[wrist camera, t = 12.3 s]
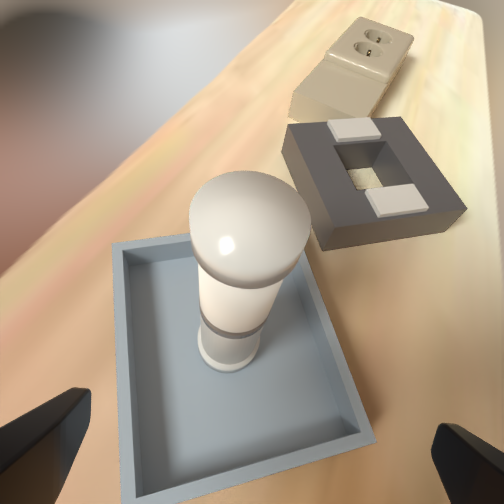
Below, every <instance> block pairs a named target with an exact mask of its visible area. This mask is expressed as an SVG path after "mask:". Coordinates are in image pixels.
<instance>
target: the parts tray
mask: <svg viewBox="0 0 504 504" xmlns="http://www.w3.org/2000/svg"><path fill="white" fill-rule="evenodd" d="M112 263H113V291H114V318H115V346H116V373H117V401H118V428H119V456H120V483H121V504H177V503H180V502H183V501H186V500H190V499H193V498H196V497H199V496H203V495H206V494H209V493H213V492H216V491H219V490H222V489H226V488H229V487H232V486H236V485H239V484H242V483H245V482H249V481H252V480H255V479H258V478H262V477H265V476H268V475H272V474H275V473H278V472H281V471H285V470H288V469H291V468H294V467H298V466H301V465H304V464H308V463H311V462H314V461H317V460H321V459H324V458H327V457H331V456H334V455H337V454H340V453H344V452H347V451H350V450H353V449H357V448H360V447H363V446H367V445H370V444H373V443H376V442H377V441H376V438H375V436H374V433H373V430H372V428H371V425H370V422H369V420H368V417H367V415H366V412H365V409H364V407H363V404H362V401H361V399H360V396H359V394H358V391H357V388H356V386H355V383H354V380H353V378H352V375H351V372H350V370H349V367H348V365H347V362H346V359H345V357H344V354H343V351H342V349H341V346H340V343H339V341H338V338H337V336H336V333H335V330H334V328H333V325H332V322H331V320H330V317H329V315H328V312H327V309H326V307H325V304H324V301H323V299H322V296H321V293H320V291H319V288H318V286H317V283H316V280H315V278H314V275H313V272H312V270H311V267H310V265H309V262H308V259H307V257H306V254H305V251H304V249H303V251H302V254H301V256H300V258H299V260H298V262H297V264H296V266H295V268H294V269H293V270H292V271H291V273H290V274H289V275H288V276H286V277H285V278H284V279H283V282H282V284H281V286H280V289H279V291H278V293H277V296H276V298H275V301H274V303H273V305H272V308H271V311H270V314H269V316H268V318H267V321H266V322H265V324H264V327H263V329H262V331H261V334H260V344H259V347H258V350H257V352H256V354H255V356H254V358H253V360H252V361H251V363H250V364H249V365H248V366H247V367H245V368H244V369H242V370H241V371H238V372H235V373H220V372H217V371H215V370H213V369H211V368H210V367H209V366H207V365H206V364H205V362H204V361H203V360H202V358H201V356H200V353H199V349H198V330H199V327H200V325H201V322H200V308H199V273H198V262H197V260H196V259H195V257H194V254H193V251H192V247H191V238H190V233H187V234H179V235H172V236H164V237H157V238H149V239H142V240H134V241H126V242H119V243H112Z"/></svg>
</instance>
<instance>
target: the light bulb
mask: <svg viewBox="0 0 504 504" xmlns="http://www.w3.org/2000/svg"><path fill="white" fill-rule="evenodd" d="M189 224H190V238H191V247H192V251H193V254H194V257H195V259H196V260H197V262H198V273H199V308H200V322H201V325H200V327H199V330H198V349H199V353H200V356H201V358H202V360H203V361H204V362H205V364H206V365H207V366H209V367H210V368H211V369H213V370H215V371H217V372H220V373H235V372H238V371H241V370H242V369H244V368H245V367H247V366H248V365H249V364H250V363H251V361H252V360H253V358H254V356H255V354H256V352H257V350H258V347H259V344H260V334H261V331H262V329H263V327H264V324H265V322H266V321H267V318H268V316H269V314H270V311H271V308H272V305H273V303H274V301H275V298H276V296H277V293H278V291H279V289H280V286H281V284H282V282H283V279H284V278H285V277H286V276H288V275H289V274H290V273H291V271H292V270H293V269H294V268H295V266H296V264H297V262H298V260H299V258H300V256H301V254H302V251H303V249H304V247H305V245H306V243H307V240H308V238H309V236H310V231H311V216H310V213H309V210H308V207H307V205H306V203H305V201H304V200H303V198H302V197H301V196H300V194H299V193H298V192H297V191H296V190H295V189H294V188H292V187H291V186H290V185H289V184H287V183H285V182H284V181H282V180H280V179H278V178H276V177H274V176H271V175H268V174H265V173H261V172H255V171H235V172H229V173H225V174H222V175H219V176H217V177H215V178H213V179H211V180H210V181H208V182H207V183H205V184H204V185H203V186H202V187H201V188H200V189H199V190H198V191H197V193H196V194H195V196H194V198H193V200H192V202H191V205H190V210H189Z"/></svg>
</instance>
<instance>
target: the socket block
mask: <svg viewBox="0 0 504 504" xmlns="http://www.w3.org/2000/svg"><path fill="white" fill-rule="evenodd" d="M281 152H282V155H283V157H284V159H285V162H286V164H287V167H288V169H289V172H290V174H291V176H292V179H293V181H294V184H295V186H296V189H297V191H298V193H299V194H300V196H301V197H302V198H303V200H304V201H305V203H306V205H307V207H308V210H309V213H310V216H311V225H312V227H313V230H314V232H315V235H316V237H317V240H318V242H319V244H320V247H321V249H322V251H327V250H333V249H339V248H346V247H352V246H358V245H365V244H371V243H377V242H384V241H390V240H396V239H403V238H409V237H415V236H422V235H428V234H434V233H441V232H445V231H446V230H447V229H448V228H449V227H450V226H451V225H452V224H453V223H454V222H455V221H456V220H457V219H458V218H459V217H460V216H461V215H462V214H463V213H464V212H465V211H466V210H467V207H466V206H465V205H464V203H463V202H462V200H461V199H460V198H459V196H458V195H457V194H456V192H455V191H454V189H453V188H452V187H451V185H450V184H449V183H448V181H447V180H446V178H445V177H444V176H443V174H442V173H441V172H440V170H439V169H438V167H437V166H436V165H435V163H434V162H433V161H432V159H431V158H430V156H429V155H428V154H427V152H426V151H425V150H424V148H423V147H422V145H421V144H420V143H419V141H418V140H417V139H416V137H415V136H414V134H413V133H412V132H411V130H410V129H409V127H408V126H407V125H406V123H405V122H404V121H403V119H402V118H401V117H388V118H373V119H371V118H370V117H364V118H349V119H333V120H328V121H327V122H312V123H297V124H288V126H287V130H286V134H285V139H284V143H283V147H282V151H281ZM367 167H372V168H373V170H374V172H375V173H376V175H377V177H378V178H379V180H380V182H381V183H382V185H383V187H380V188H371V189H365V190H356V188H355V186H354V184H353V182H352V180H351V178H350V177H349V175H348V173H347V171H346V170H348V169H358V168H367Z"/></svg>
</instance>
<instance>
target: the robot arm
mask: <svg viewBox="0 0 504 504" xmlns="http://www.w3.org/2000/svg"><path fill="white" fill-rule="evenodd" d="M90 416H91V391H90V390H89V389H87V388H77V387H74V388H71V389H69V390H67V391H65V392H63V393H62V394H60V395H58V396H56V397H54V398H53V399H51V400H49V401H47V402H45V403H44V404H42V405H40V406H38V407H36V408H35V409H33V410H31V411H29V412H27V413H26V414H24V415H22V416H20V417H18V418H17V419H15V420H13V421H11V422H9V423H8V424H6V425H4V426H2V427H0V504H55V502H56V500H57V498H58V496H59V494H60V492H61V490H62V487H63V485H64V483H65V481H66V478H67V476H68V474H69V471H70V469H71V467H72V464H73V462H74V459H75V457H76V455H77V452H78V450H79V448H80V445H81V443H82V441H83V438H84V436H85V434H86V431H87V429H88V426H89V423H90ZM431 455H432V459H433V462H434V464H435V466H436V469H437V471H438V474H439V476H440V478H441V481H442V483H443V486H444V488H445V490H446V493H447V495H448V498H449V500H450V502H451V504H504V453H503V452H501V451H500V450H498V449H496V448H495V447H493V446H492V445H490V444H488V443H487V442H485V441H484V440H482V439H480V438H479V437H477V436H475V435H474V434H472V433H471V432H469V431H467V430H466V429H464V428H462V427H461V426H459V425H457V424H451V423H441V424H440V425H439V426H438V428H437V431H436V434H435V438H434V441H433V444H432V448H431Z"/></svg>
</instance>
